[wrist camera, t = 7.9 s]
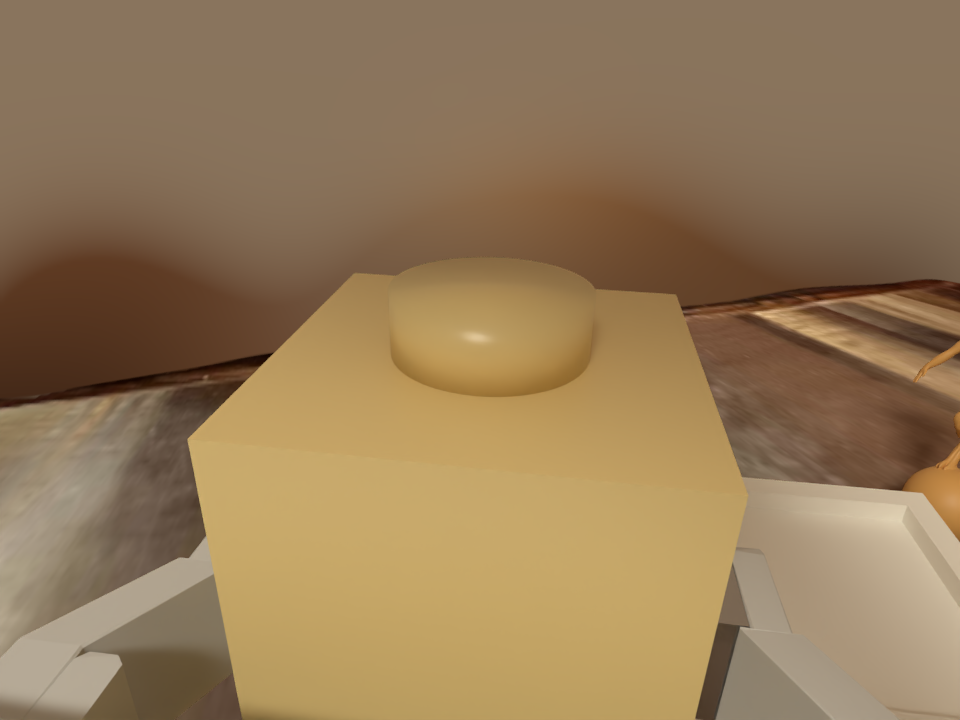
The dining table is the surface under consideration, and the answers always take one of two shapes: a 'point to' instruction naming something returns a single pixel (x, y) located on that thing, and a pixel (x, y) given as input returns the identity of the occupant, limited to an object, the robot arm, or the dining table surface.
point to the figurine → (941, 468)
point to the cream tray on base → (866, 586)
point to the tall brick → (473, 504)
